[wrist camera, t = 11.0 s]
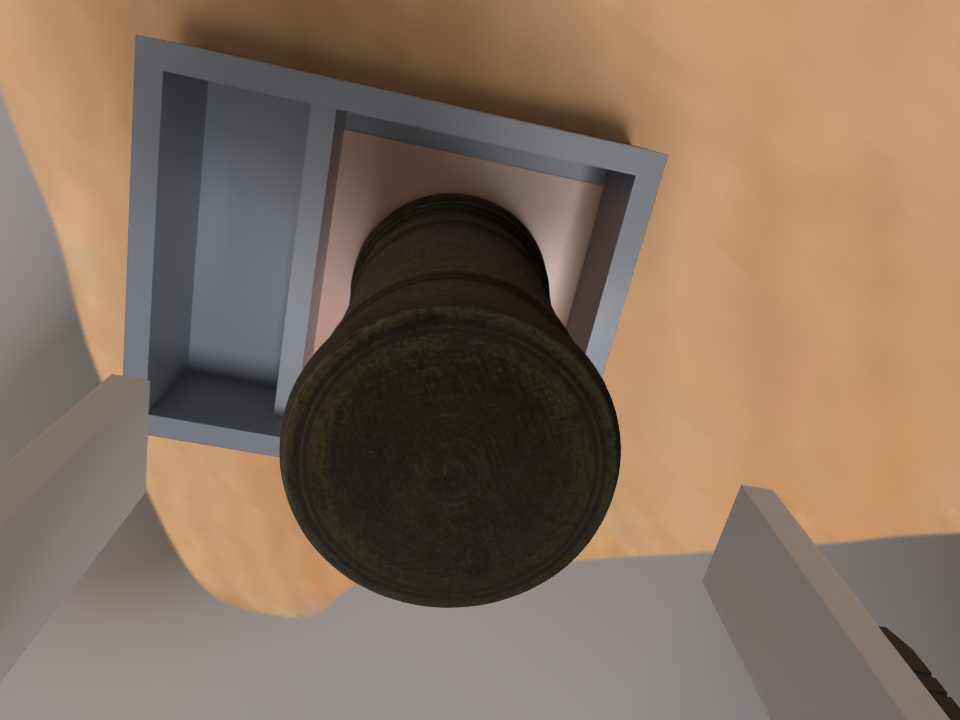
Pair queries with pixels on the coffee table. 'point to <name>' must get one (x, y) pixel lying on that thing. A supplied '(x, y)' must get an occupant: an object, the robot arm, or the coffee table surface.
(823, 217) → the coffee table surface
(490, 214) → the container
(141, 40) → the walled box
